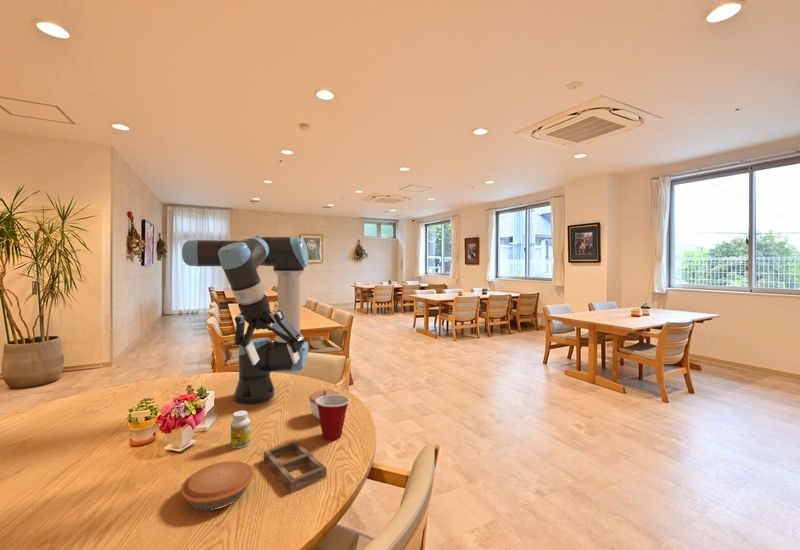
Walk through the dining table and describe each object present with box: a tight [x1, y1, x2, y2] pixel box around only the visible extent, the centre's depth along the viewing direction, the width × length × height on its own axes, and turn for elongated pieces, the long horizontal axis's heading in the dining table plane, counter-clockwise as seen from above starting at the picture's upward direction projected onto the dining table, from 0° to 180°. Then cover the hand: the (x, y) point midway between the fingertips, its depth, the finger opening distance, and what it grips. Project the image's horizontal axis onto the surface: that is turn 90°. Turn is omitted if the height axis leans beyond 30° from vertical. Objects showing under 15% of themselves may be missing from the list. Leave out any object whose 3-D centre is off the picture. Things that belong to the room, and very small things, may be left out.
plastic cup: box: [315, 394, 351, 441], centre depth 113 cm, size 11×11×12 cm
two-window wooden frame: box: [263, 440, 327, 493], centre depth 95 cm, size 18×10×2 cm, turn 41°
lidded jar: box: [308, 389, 341, 421], centre depth 127 cm, size 11×11×9 cm
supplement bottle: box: [230, 410, 251, 449], centre depth 107 cm, size 5×5×10 cm
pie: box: [179, 460, 255, 511], centre depth 84 cm, size 16×16×5 cm
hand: (276, 361), depth 105 cm, fingers open, 13 cm apart
